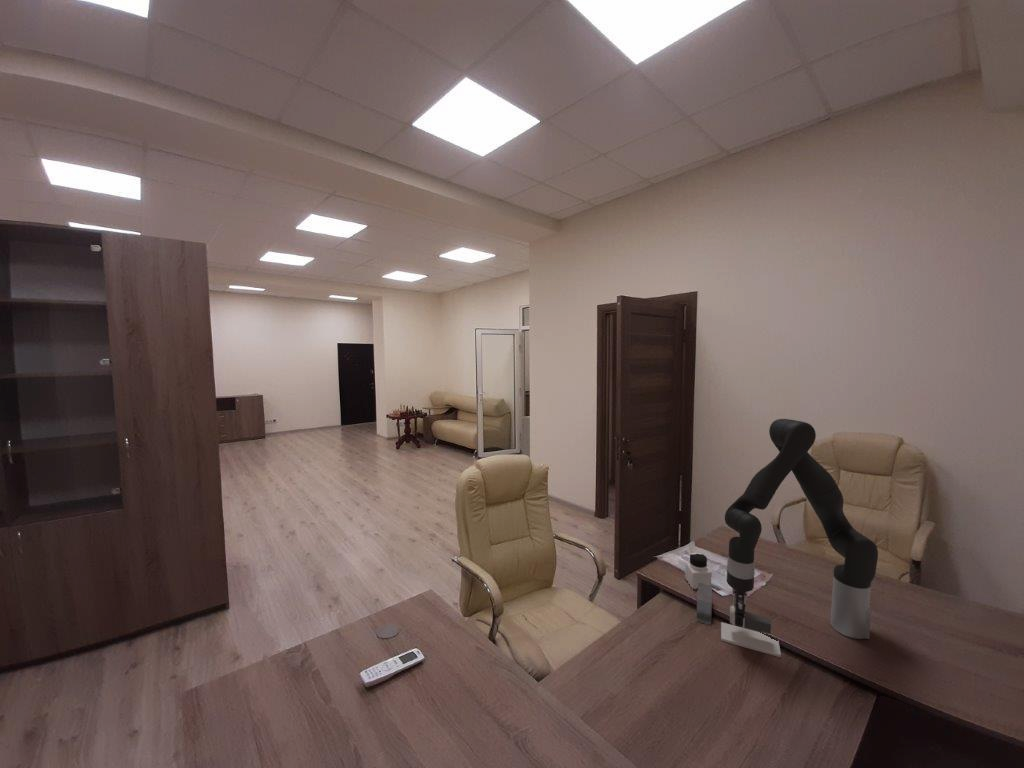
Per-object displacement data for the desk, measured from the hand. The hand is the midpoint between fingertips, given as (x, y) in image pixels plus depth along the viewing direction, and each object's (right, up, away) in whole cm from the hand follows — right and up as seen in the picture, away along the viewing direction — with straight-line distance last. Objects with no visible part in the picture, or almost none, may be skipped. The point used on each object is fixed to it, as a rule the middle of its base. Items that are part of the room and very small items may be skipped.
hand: (738, 620), depth 128 cm
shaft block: (-4, -4, +14) cm, 15 cm away
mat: (+3, -6, -1) cm, 6 cm away
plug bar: (+3, -1, -1) cm, 3 cm away
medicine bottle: (0, -3, +28) cm, 28 cm away
